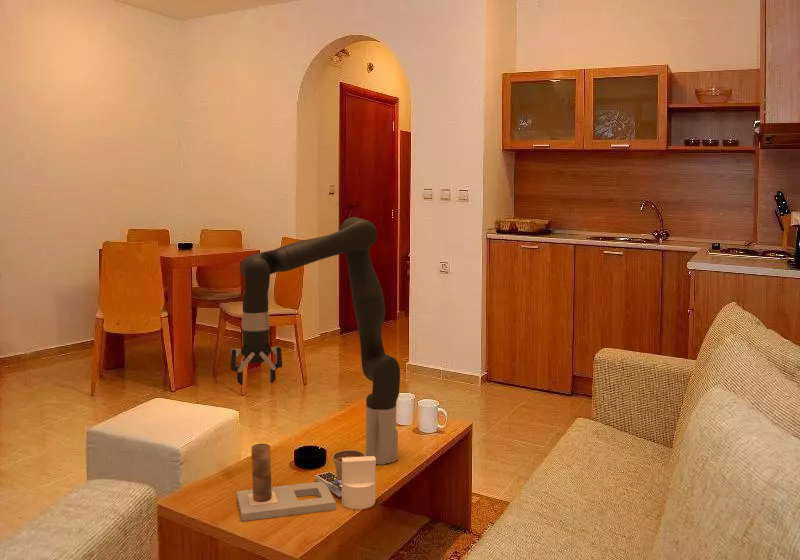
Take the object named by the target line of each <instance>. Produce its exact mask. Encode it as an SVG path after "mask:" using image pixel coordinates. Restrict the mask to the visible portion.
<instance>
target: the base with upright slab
mask: <svg viewBox="0 0 800 560" xmlns="http://www.w3.org/2000/svg"><path fill="white" fill-rule="evenodd" d="M376 465H377V464H376V458H375V457H374V456H366V457H347V458H342V487H341V504H342V506H344V507H345V508H347V509H351V510H364V509H369V508H371V507H373V506H374V505H375V504H376V467H377V466H376Z"/></svg>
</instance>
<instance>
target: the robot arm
mask: <svg viewBox="0 0 800 560" xmlns="http://www.w3.org/2000/svg"><path fill="white" fill-rule="evenodd" d="M377 238H378V230H377V227H376V226H375V225H374V223H372V222H370V221H369V220H367V219H364V218H362V217H361V218H360V217H356V216H355V217H354V216H352V217H348V218H345V220H344V221H343V222H341V226H340V228H339V230H338V231H336V232H333V233H330V234H326V235H322V236H319V237H313V238H308V239H303V240H299V241H295V242H292V243H289V244H285V245H283V246H279V247H278V248H275V249H271V250H266V251H262V252H258V253H254V254H251V255H248V256H246V257H245V258H244V259H243V260H242V261H241V264H240V273H241V274H242V276H243V277H244V292H243V294H242V316H241V336H242V339H241V341H242V345H241V348H235V347H231V348H230V360H229V361H230V362H229V364H230V370H231V371H234V372H236V382H237V384H239V385H240V386H243V385H244V384H243V383H244V382H243V381H244V380H243V379H244V378H243V373H244V372H243V370H244V369H245V368H246V367H247V365H248V364H251V365H252V364H256V363H258V364H262V363H264V362H265V363H266V364H267V365H268V366H269V382H270V384H274V382H276V379H277V378H276V374H277V373H276V371H277V369H279V368H280V369H281V368H282V367H283V357H282V356H283V355H282V348H281V345H276V346H271V344H270V343H271V342H270V337H271V336H270V334H271V333H270V315H269V288H270V282H271V281H270V279H271V278H270V277H271V275H273V274H276V273H284V272H289V271H291V270H295V269H299V268H301V267H305V266H306V265H309V264H313V263H315V262H318V261H320V260H321V261H322V260H324V259H328V258H332V257H334V256H338V255H343V254H344V257H345V260H346V264H347V269H348V270H347V271H348V276H349V277H348V278H349V284H350V291H351V298H352V304H353V310H354V316H355V320H356V326H357V330H358V331H357V332H358V336H359V337H358V338H359V343H360V344H359V345H360V346H359V347H360V354H361V355H360V357H361V360H360V361H361V370H362V372H363V374H364V376H365V378H367V380H369V381H371V382H372V391H371V393H369V394H368V395H367V396H366V399H365V455H366V456H374V457H375V458H376V465H387V464H386V463H389V464H391V463H390V462H392V461H394V460H399V459H398V455H399V454H398V452H399V451H398V449H399V443H398V442H399V431H398V430H397V401H398V398H399V396H400V385H401V367H400V363H399V362H398V360H397V359H396V358H394V357H393V356H391V355H389V354H386V351H385V348H384V343H383V339H382V338H383V337H382V330H383V325H384V322H385V317H386V305H385V299H384V293H383V289H382V286H381V283H380V281H379V278H378V276H377V273H376V271H375V269H374V266H373V263H372V260H371V253H370V248H372V247H373V246H374V244H375V243H376V241H377ZM272 352H273V354H274V355H275V359H276V362H275V363H274V362H273V361H272V360H271V359H270V358H269V356H270V354H271V353H272ZM239 354H241V355H242V356H243V357H242V359H241V361H240V363H239V364H238V365H236V363H237V362H236V361H237V357H239ZM394 462H395V461H394ZM392 463H393V462H392Z"/></svg>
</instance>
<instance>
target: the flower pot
mask: <svg viewBox="0 0 800 560" xmlns="http://www.w3.org/2000/svg"><path fill="white" fill-rule="evenodd" d="M347 457H366V453H364V452H362V451H360V450H354V449H344V450H339V451H336V452H335V453H333V454H332V456H331V458H332V460H333V463H334V466H335V471H336V472H335V473H336V479H337V478H339V479H340V480H342V458H347Z"/></svg>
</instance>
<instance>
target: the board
mask: <svg viewBox="0 0 800 560" xmlns="http://www.w3.org/2000/svg"><path fill="white" fill-rule="evenodd" d="M271 490H272V498H271V499H270V500H268V501H265V502H257V501H254V500H253V488H251V489H244V490H237V491H236V500H237V504H238V508H239V514H240V518H241V522H248V521H254V520H255V521H256V520H263V519H271V518H279V517H288V516H295V515H302V514H303V515H304V514H311V513H313V514H314V513H319V512H328V511H336V505H337V504H336V503H337V502H336V500H335V498H334V497H333V495H332V493H331V491H330V489H329V487H328V485H327V484H326V485H325V484H324V483H323V482H322V481H317V482H316V481H315V482H307V483H296V484H288V485H279V486H278V485H277V486H271ZM308 496H309V497H310V496H317V497H316V498H315V497H314V498H308V499H300V500H298V498H301V497H308Z"/></svg>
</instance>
